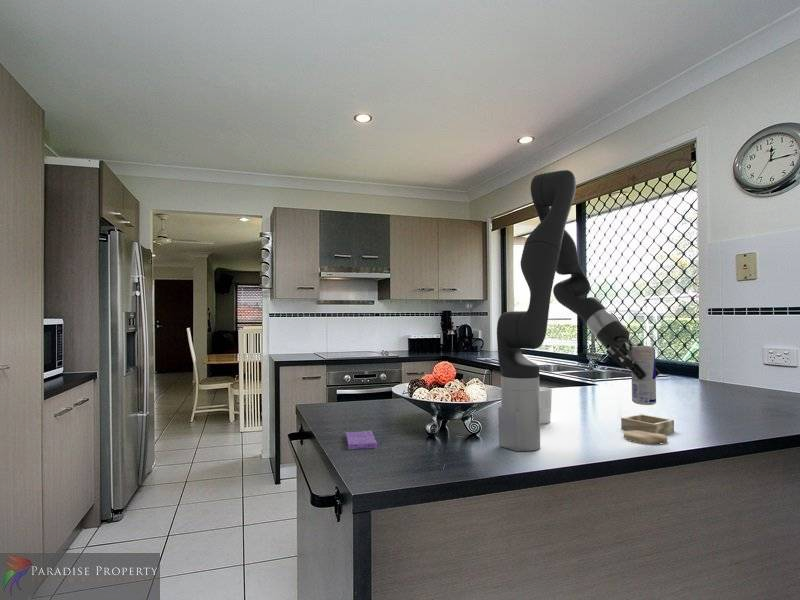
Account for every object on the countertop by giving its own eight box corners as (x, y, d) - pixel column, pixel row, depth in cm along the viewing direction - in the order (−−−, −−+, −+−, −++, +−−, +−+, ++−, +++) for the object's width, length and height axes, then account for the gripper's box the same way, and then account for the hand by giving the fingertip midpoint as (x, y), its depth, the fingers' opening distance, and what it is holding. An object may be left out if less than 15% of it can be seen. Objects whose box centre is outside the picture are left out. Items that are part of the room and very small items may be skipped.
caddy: (655, 435, 125) (654, 424, 125) (621, 428, 133) (621, 418, 133) (674, 431, 130) (673, 420, 130) (640, 424, 138) (640, 414, 138)
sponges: (348, 451, 113) (348, 443, 113) (345, 438, 126) (345, 431, 126) (377, 450, 115) (377, 442, 115) (371, 436, 127) (371, 430, 127)
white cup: (546, 425, 137) (546, 391, 137) (521, 422, 142) (520, 388, 142) (555, 420, 143) (555, 388, 143) (531, 417, 148) (530, 385, 148)
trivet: (653, 446, 115) (653, 442, 115) (615, 437, 123) (615, 433, 123) (674, 440, 120) (674, 436, 120) (637, 432, 129) (637, 428, 129)
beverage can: (660, 405, 119) (659, 346, 120) (638, 405, 119) (637, 346, 120) (649, 401, 125) (648, 345, 125) (628, 401, 125) (627, 345, 125)
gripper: (600, 320, 125) (644, 369, 115) (631, 319, 133) (675, 365, 123) (583, 339, 130) (624, 388, 119) (614, 337, 137) (655, 383, 127)
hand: (650, 376), depth 121 cm, fingers closed on beverage can, 5 cm apart
